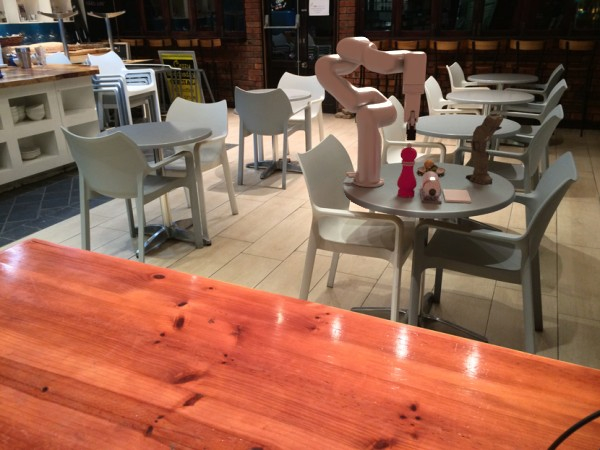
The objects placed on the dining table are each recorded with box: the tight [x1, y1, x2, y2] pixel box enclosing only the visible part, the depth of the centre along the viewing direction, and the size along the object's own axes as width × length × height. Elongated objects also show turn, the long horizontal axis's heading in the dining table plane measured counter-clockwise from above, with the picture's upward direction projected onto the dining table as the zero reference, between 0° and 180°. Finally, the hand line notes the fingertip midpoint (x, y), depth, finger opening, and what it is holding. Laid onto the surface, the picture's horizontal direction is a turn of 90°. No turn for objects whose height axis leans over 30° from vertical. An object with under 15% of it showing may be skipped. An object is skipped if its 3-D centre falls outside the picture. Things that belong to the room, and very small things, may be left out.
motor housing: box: [419, 171, 443, 205], centre depth 185 cm, size 7×16×7 cm, turn 170°
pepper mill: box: [396, 142, 418, 198], centre depth 184 cm, size 7×7×20 cm
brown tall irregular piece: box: [465, 112, 504, 185], centre depth 196 cm, size 13×7×29 cm, turn 25°
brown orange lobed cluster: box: [416, 159, 446, 178], centre depth 211 cm, size 12×12×8 cm
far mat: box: [442, 188, 472, 204], centre depth 184 cm, size 9×12×1 cm
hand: (410, 137), depth 179 cm, fingers open, 9 cm apart
